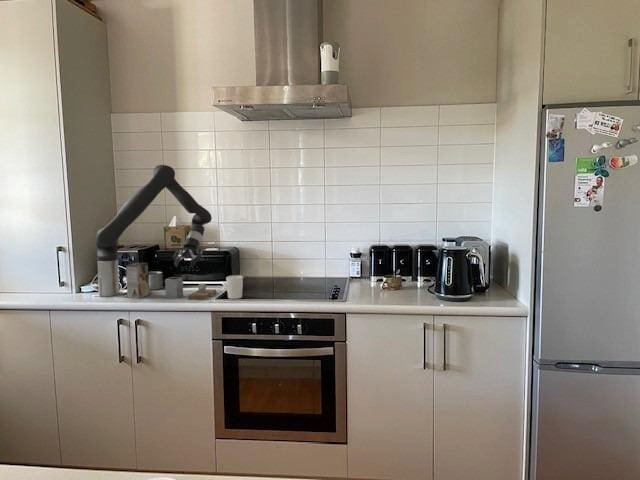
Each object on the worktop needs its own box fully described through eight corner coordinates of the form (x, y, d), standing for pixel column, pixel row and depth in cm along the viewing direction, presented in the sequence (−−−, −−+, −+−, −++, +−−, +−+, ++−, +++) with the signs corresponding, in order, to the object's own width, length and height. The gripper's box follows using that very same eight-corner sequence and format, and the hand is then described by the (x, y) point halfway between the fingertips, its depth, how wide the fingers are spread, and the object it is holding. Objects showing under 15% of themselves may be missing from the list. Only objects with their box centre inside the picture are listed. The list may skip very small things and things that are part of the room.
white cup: (235, 294, 223) (234, 274, 222) (246, 296, 218) (246, 276, 217) (223, 297, 216) (222, 277, 215) (234, 300, 212) (234, 279, 211)
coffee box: (138, 294, 225) (137, 262, 224) (149, 294, 224) (148, 262, 222) (127, 298, 216) (125, 265, 215) (139, 298, 215) (137, 265, 213)
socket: (165, 297, 216) (165, 279, 215) (172, 295, 222) (171, 277, 221) (177, 298, 215) (176, 279, 214) (183, 295, 221) (182, 277, 220)
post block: (204, 299, 212) (203, 287, 211) (188, 299, 213) (187, 286, 213) (216, 293, 226) (215, 281, 225) (201, 293, 227) (200, 281, 226)
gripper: (177, 236, 236) (167, 261, 226) (203, 237, 233) (194, 262, 223) (183, 245, 242) (173, 270, 231) (208, 246, 239) (199, 271, 229)
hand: (183, 266), depth 227 cm, fingers open, 8 cm apart
